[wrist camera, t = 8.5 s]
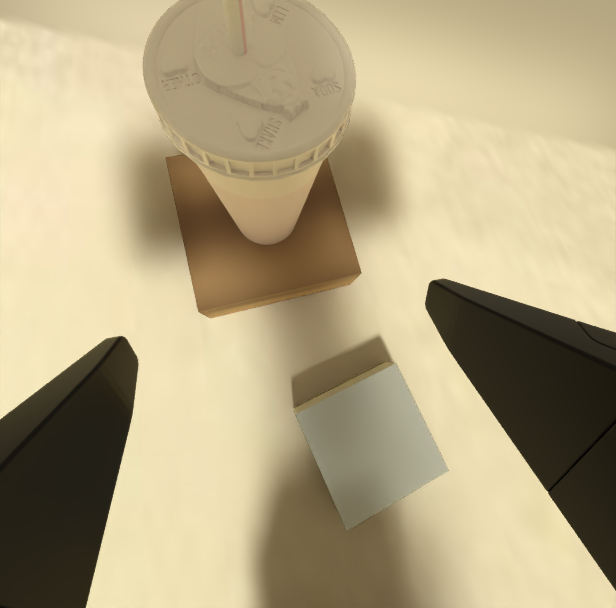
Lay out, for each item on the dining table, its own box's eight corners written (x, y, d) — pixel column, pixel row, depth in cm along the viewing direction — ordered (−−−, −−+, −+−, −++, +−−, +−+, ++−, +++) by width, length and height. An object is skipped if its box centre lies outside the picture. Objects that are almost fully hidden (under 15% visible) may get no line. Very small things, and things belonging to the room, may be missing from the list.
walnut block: (349, 284, 21) (361, 272, 18) (210, 318, 20) (198, 312, 17) (313, 161, 22) (319, 132, 19) (181, 185, 21) (165, 157, 18)
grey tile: (431, 458, 20) (448, 470, 18) (339, 512, 18) (346, 531, 16) (384, 362, 20) (396, 363, 18) (293, 408, 19) (295, 414, 17)
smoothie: (268, 151, 19) (241, -391, 5) (338, 220, 19) (509, -164, 5) (191, 212, 18) (-115, -283, 4) (264, 288, 17) (209, 31, 4)
